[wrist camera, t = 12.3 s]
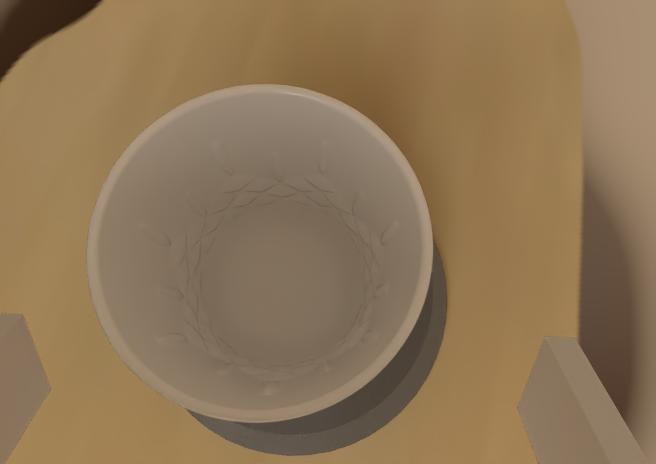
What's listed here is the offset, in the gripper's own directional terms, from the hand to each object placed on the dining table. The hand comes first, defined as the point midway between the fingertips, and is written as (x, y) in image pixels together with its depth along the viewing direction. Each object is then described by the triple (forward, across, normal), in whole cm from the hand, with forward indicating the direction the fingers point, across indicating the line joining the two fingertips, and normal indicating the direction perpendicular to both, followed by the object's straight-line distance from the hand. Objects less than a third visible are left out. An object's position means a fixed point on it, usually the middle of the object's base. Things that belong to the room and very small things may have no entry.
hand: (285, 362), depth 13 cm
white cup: (+8, -1, -4) cm, 8 cm away
